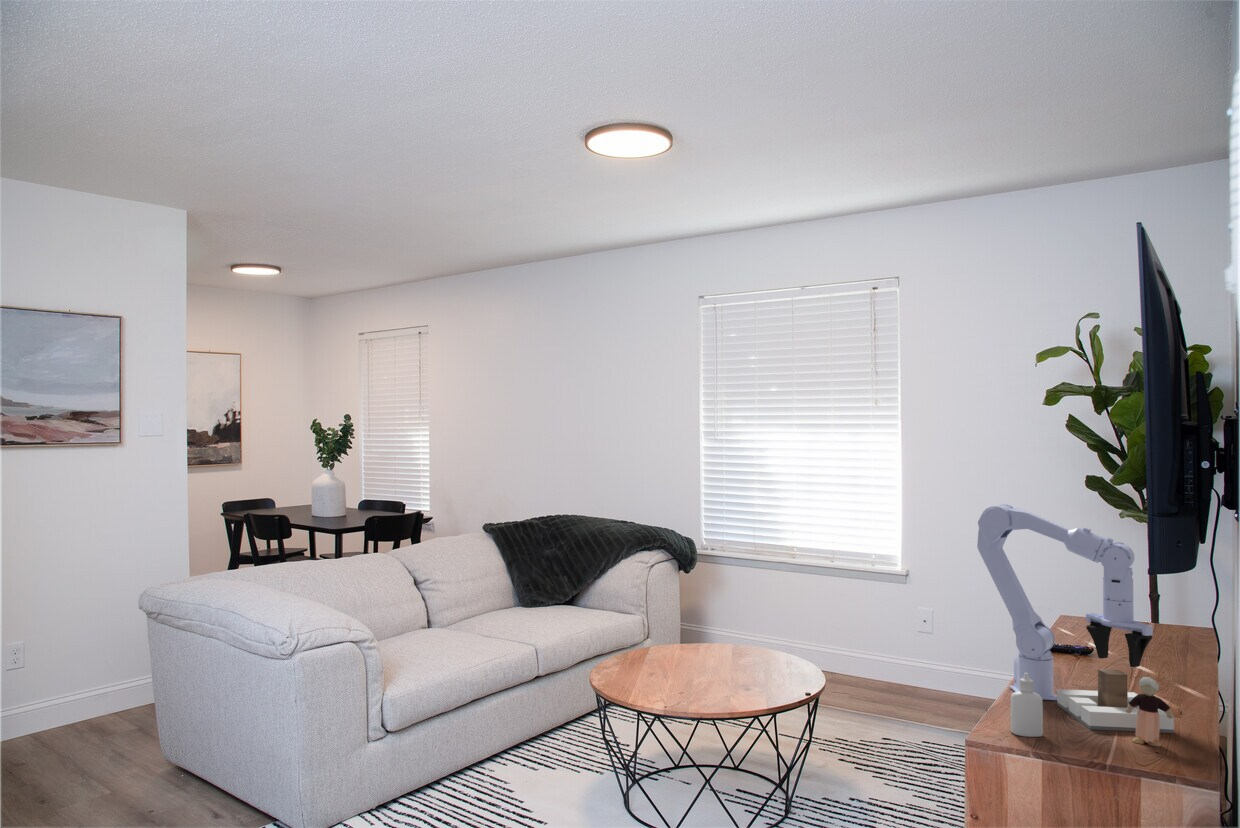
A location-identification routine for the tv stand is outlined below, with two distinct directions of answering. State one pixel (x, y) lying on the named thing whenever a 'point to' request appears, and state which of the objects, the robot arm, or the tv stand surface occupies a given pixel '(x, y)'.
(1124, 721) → the socket block
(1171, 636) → the tv stand surface
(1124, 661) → the tv stand surface
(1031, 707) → the eye dropper bottle
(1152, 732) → the grandmother figurine
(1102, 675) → the walnut pin
